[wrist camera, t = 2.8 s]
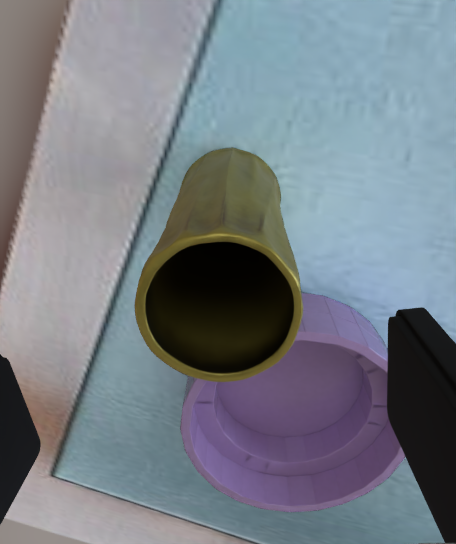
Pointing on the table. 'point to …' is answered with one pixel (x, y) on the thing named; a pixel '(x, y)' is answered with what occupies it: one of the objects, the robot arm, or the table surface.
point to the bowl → (299, 419)
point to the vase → (222, 274)
